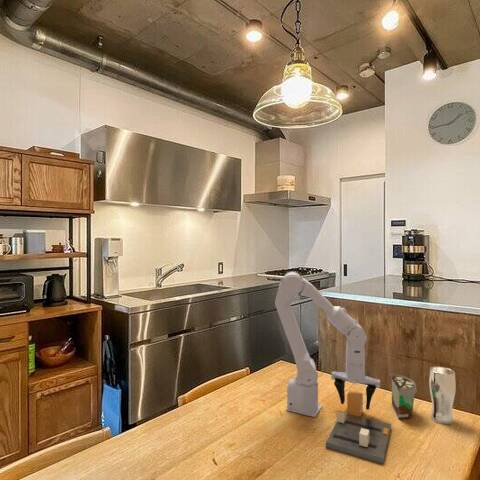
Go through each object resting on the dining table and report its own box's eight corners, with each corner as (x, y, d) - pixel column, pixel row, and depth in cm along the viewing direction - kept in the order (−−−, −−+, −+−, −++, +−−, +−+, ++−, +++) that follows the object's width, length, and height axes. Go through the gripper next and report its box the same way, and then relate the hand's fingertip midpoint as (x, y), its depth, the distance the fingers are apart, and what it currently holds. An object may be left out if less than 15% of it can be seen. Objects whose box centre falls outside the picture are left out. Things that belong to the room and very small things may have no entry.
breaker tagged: (337, 421, 103) (337, 410, 103) (339, 416, 106) (339, 405, 106) (344, 423, 102) (344, 411, 102) (346, 418, 105) (346, 407, 105)
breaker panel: (325, 447, 93) (325, 441, 93) (341, 417, 109) (341, 411, 109) (382, 464, 86) (382, 457, 86) (390, 429, 102) (390, 423, 102)
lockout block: (347, 413, 111) (347, 394, 111) (349, 408, 115) (349, 390, 114) (360, 417, 109) (360, 397, 109) (362, 411, 113) (362, 392, 113)
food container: (422, 424, 105) (422, 390, 105) (399, 422, 106) (400, 388, 106) (410, 404, 117) (410, 374, 117) (390, 403, 118) (391, 373, 118)
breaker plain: (359, 445, 91) (359, 433, 91) (361, 439, 94) (361, 428, 94) (367, 447, 90) (367, 435, 90) (369, 441, 93) (369, 430, 93)
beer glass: (452, 415, 110) (452, 367, 110) (458, 427, 103) (458, 376, 103) (427, 412, 112) (427, 365, 112) (431, 423, 106) (431, 373, 105)
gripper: (328, 362, 112) (328, 405, 112) (377, 370, 105) (377, 416, 105) (334, 356, 118) (334, 396, 118) (381, 363, 111) (381, 406, 111)
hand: (355, 405), depth 112 cm, fingers open, 7 cm apart
